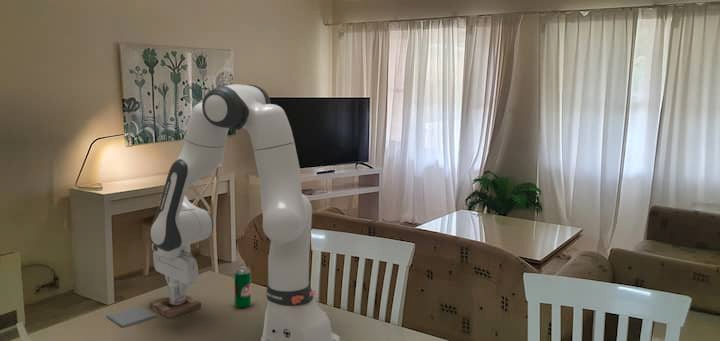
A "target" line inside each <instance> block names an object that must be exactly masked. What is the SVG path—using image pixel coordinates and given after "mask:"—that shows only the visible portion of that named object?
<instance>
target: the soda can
mask: <svg viewBox="0 0 720 341" xmlns="http://www.w3.org/2000/svg"><path fill="white" fill-rule="evenodd" d="M251 274H252V271H251V270H250V267H248V266H238V267H236V268H234V272H233V286H234V287H233V290H234V291H233V292H234V295H233V296H234V301H233V302H234V306H235V307H236V308H238V309H245V308H246V309H247V308H248V307H250V306H251V304H252V289H251V288H252V275H251Z"/></svg>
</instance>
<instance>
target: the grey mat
mask: <svg viewBox="0 0 720 341" xmlns="http://www.w3.org/2000/svg"><path fill="white" fill-rule="evenodd" d="M106 318H107V319H109V320H110V321H111V322H113V323H115V324H116V325H117V326H120V327H121V328H126V327H130V326H132V325H136V324H139V323H142V322H145V321H148V320H152V319H154V318H157V315H156V314H155V313H152V312H151V311H149V310H147V308H144V307H142V306H141V305H138V306H134V307H132V308H128V309H124V310H122V311H121V310H120V311H118V312H114V313H110V314H107V315H106Z"/></svg>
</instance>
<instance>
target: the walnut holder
mask: <svg viewBox="0 0 720 341" xmlns="http://www.w3.org/2000/svg"><path fill="white" fill-rule="evenodd" d="M169 306H173V304H170V303H169V296H168V297H164V298H160V299H158V300H154V301H150V302H149V309H151V310H153V312H156V313H158V314H159V315H161V316H163V317H164V318H166V319H172V318H175V317H177V316H178V317H179V316H180V315H183V314H187V313H190V312H193V311H196V310H199V309H202V302H201V301H200V300H197V299H195V298H193V297H190V296H189V295H187V294H185V302H184V303H182V304H180V305H179V306H175V307H172V308H171V307H169Z"/></svg>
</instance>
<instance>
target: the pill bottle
mask: <svg viewBox="0 0 720 341" xmlns="http://www.w3.org/2000/svg"><path fill="white" fill-rule="evenodd" d="M169 280H170V282H169V284H168V283H167V288H168V287H169V289H168V297H169V303H170V304H172V305H175V306H176V305H183V304H182V303H184V302H185V295H186V294H183V295H181V294H179V293H178V288H180V284H179V281H178V280H175V279H173V278H172V277H169Z"/></svg>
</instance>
